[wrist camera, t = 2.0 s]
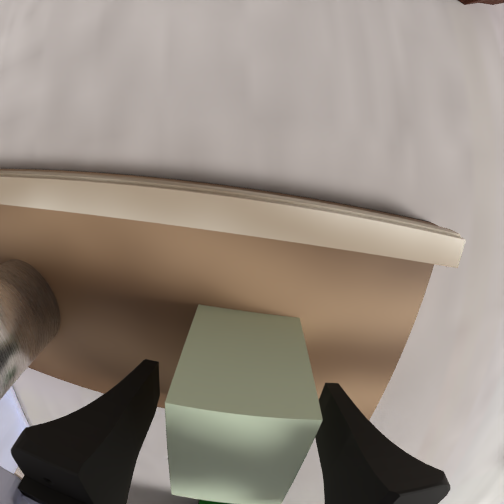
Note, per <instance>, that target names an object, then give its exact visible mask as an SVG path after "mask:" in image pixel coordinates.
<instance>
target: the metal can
mask: <svg viewBox="0 0 504 504" xmlns="http://www.w3.org/2000/svg"><path fill="white" fill-rule="evenodd" d="M60 319H61V318H60V310H59V306H58V302H57V300H56V297H55V295H54V293H53V291H52V289H51V287H50V285H49V284H48V282H47V281H46V280H45V278H44V277H43V276H42V275H41V274H40V273H39V272H38V271H37V270H36V269H35V268H34V267H33V266H31V265H30V264H28V263H26V262H24V261H21V260H17V259H12V260H8V261H6V262H5V263H3V264H1V265H0V400H1V398H2V397H3V396H4V395H5V393H6V392H7V391H8V390H9V389H10V387H11V386H12V385H13V384H14V383H15V381H16V380H17V379H18V378H19V377H20V376H21V374H22V373H23V372H24V371H25V370H26V369H27V367H28V366H29V365H30V364H31V363H32V362H33V361H34V360H35V358H36V357H37V356H38V355H39V354H40V353H41V352H42V351H43V349H44V348H45V347H46V346H47V345H48V344H49V343H50V342H51V341H52V340H53V338H54V337H55V336H56V335H57V333H58V331H59V328H60Z"/></svg>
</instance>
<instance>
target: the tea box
mask: <svg viewBox="0 0 504 504" xmlns="http://www.w3.org/2000/svg"><path fill="white" fill-rule="evenodd" d="M165 418H166V435H167V450H168V462H169V474H170V484H171V493H172V495H176V496H182V497H187V498H193V499H200V500H207V501H214V502H223V503H232V504H281V503H282V501H283V499H284V498H285V496H286V494H287V492H288V490H289V488H290V487H291V485H292V483H293V481H294V479H295V477H296V475H297V473H298V471H299V469H300V467H301V465H302V463H303V461H304V459H305V457H306V455H307V453H308V451H309V449H310V447H311V445H312V443H313V440H314V438H315V436H316V434H317V432H318V430H319V427H320V425H321V423H322V421H323V419H322V414H321V409H320V405H319V400H318V396H317V391H316V387H315V382H314V378H313V373H312V369H311V364H310V360H309V356H308V351H307V347H306V343H305V338H304V334H303V330H302V326H301V322H300V318H296V317H287V316H279V315H270V314H262V313H255V312H247V311H240V310H233V309H226V308H219V307H212V306H205V305H198V307H197V310H196V313H195V316H194V319H193V321H192V324H191V327H190V330H189V333H188V336H187V339H186V341H185V344H184V347H183V350H182V353H181V356H180V359H179V362H178V365H177V368H176V371H175V374H174V377H173V379H172V382H171V385H170V388H169V391H168V394H167V398H166V401H165Z"/></svg>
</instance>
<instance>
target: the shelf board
mask: <svg viewBox="0 0 504 504" xmlns="http://www.w3.org/2000/svg"><path fill="white" fill-rule="evenodd" d="M465 241H466V240H465V239H463V238H461V237H460V234H458V233H456V232H454V231H452V230H450V229H447V228H443V227H439V226H437V225H435V224H433V223H431V222H427V221H422V220H418V219H414V218H409V217H405V216H400V215H395V214H391V213H386V212H381V211H376V210H371V209H366V208H361V207H356V206H351V205H346V204H340V203H335V202H329V201H324V200H318V199H312V198H306V197H300V196H294V195H288V194H282V193H275V192H269V191H262V190H255V189H248V188H241V187H234V186H226V185H219V184H211V183H202V182H194V181H185V180H176V179H167V178H157V177H146V176H135V175H123V174H110V173H96V172H80V171H62V170H37V169H0V265H1V264H3V263H5V262H6V261H8V260H12V259H17V260H21V261H24V262H26V263H28V264H30V265H31V266H33V267H34V268H35V269H36V270H37V271H38V272H39V273H40V274H41V275H42V276H43V277H44V278H45V280H46V281H47V282H48V284H49V285H50V287H51V289H52V291H53V293H54V295H55V297H56V300H57V302H58V306H59V310H60V318H61V319H60V328H59V331H58V333H57V335H56V336H55V337H54V338H53V340H52V341H51V342H50V343H49V344H48V345H47V346H46V347H45V348H44V349H43V351H42V352H41V353H40V354H39V355H38V356H37V357H36V358H35V360H34V361H33V362H32V363H31V364H30V365H29V366H28V367H29V368H31V369H34V370H36V371H39V372H42V373H44V374H47V375H50V376H52V377H55V378H58V379H61V380H64V381H66V382H69V383H72V384H75V385H78V386H82V387H85V388H88V389H91V390H94V391H98V392H101V393H106V392H108V391H109V390H110V389H112V388H113V387H114V386H115V385H117V384H118V383H119V382H120V381H121V380H122V379H124V378H125V377H126V376H127V375H128V374H129V373H130V372H132V371H133V370H134V369H135V368H136V367H137V366H138V365H139V364H140V363H141V362H142V361H143V360H145V359H148V360H153V361H158V362H159V384H160V397H159V401H158V404H157V407H161V408H165V401H166V398H167V394H168V391H169V388H170V385H171V382H172V379H173V377H174V374H175V371H176V368H177V365H178V362H179V359H180V356H181V353H182V350H183V347H184V344H185V341H186V339H187V336H188V333H189V330H190V327H191V324H192V321H193V319H194V316H195V313H196V310H197V307H198V305H205V306H212V307H219V308H226V309H233V310H240V311H247V312H255V313H262V314H270V315H279V316H287V317H296V318H300V322H301V326H302V330H303V334H304V338H305V343H306V347H307V351H308V356H309V360H310V364H311V369H312V373H313V378H314V382H315V387H316V391H317V396H318V400H319V398H320V395H321V393H322V390H323V387H324V385H325V383H339V385H340V386H341V387H342V388H343V390H344V391H345V392H346V394H347V395H348V396H349V398H350V399H351V400H352V401H353V403H354V404H355V405H356V406H357V408H358V409H359V410H360V411H361V412H362V413H363V415H364V416H365V417H366V418H367V419H368V420H370V418H371V416H372V414H373V412H374V410H375V408H376V406H377V404H378V403H379V401H380V399H381V397H382V395H383V393H384V391H385V389H386V387H387V384H388V382H389V380H390V378H391V376H392V374H393V372H394V370H395V367H396V365H397V363H398V361H399V358H400V356H401V354H402V352H403V349H404V347H405V344H406V342H407V340H408V337H409V335H410V332H411V330H412V327H413V324H414V322H415V319H416V317H417V314H418V311H419V308H420V306H421V303H422V300H423V297H424V294H425V291H426V288H427V285H428V282H429V279H430V276H431V273H432V270H433V266H434V264H436V265H442V266H448V267H454V268H458V265H459V262H460V258H461V255H462V251H463V248H464V244H465Z"/></svg>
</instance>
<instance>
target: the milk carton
mask: <svg viewBox="0 0 504 504" xmlns="http://www.w3.org/2000/svg"><path fill="white" fill-rule="evenodd" d="M198 504H232V503H223V502H214V501H207V500H199V503H198Z"/></svg>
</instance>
